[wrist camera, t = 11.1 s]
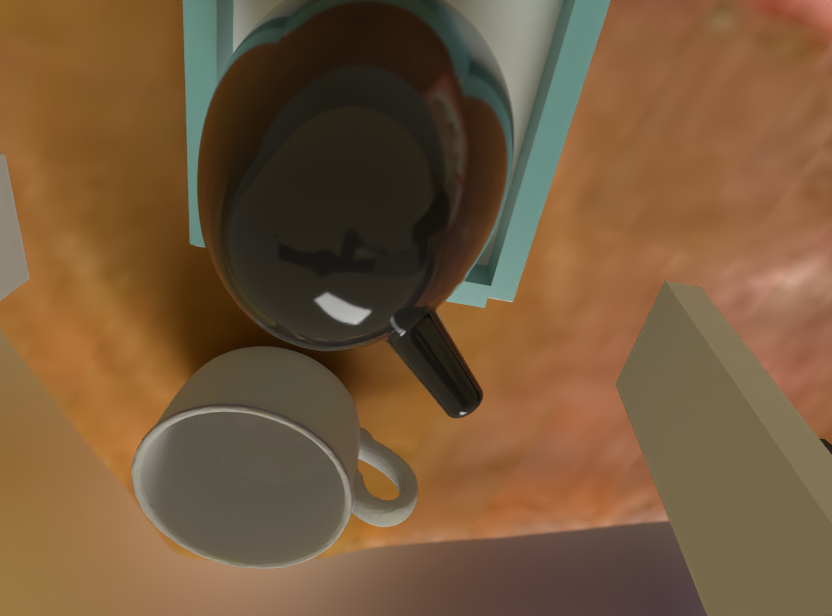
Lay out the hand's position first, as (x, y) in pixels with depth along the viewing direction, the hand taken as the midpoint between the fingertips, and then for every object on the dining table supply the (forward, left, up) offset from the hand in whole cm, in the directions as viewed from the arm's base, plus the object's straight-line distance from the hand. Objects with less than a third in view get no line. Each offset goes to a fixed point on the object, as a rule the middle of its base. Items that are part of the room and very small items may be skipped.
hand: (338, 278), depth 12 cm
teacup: (+2, +18, -16) cm, 24 cm away
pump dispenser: (0, 0, -15) cm, 15 cm away
